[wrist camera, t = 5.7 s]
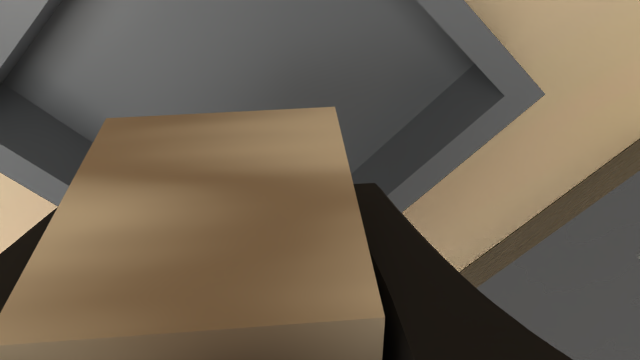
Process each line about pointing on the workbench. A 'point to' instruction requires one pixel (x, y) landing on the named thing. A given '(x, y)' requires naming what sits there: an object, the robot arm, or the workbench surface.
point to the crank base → (576, 267)
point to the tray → (257, 78)
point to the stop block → (203, 247)
